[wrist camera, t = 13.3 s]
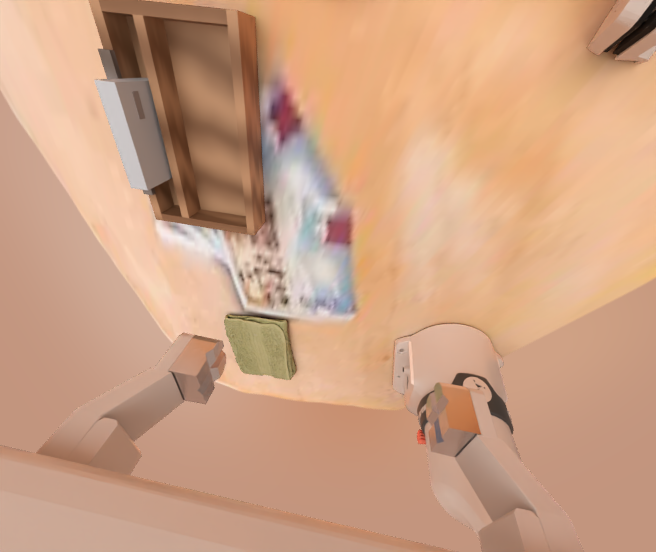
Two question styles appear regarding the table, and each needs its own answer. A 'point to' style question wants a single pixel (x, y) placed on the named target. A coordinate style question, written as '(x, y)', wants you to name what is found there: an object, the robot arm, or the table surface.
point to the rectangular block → (135, 130)
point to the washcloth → (261, 346)
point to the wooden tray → (195, 105)
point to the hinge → (628, 31)
